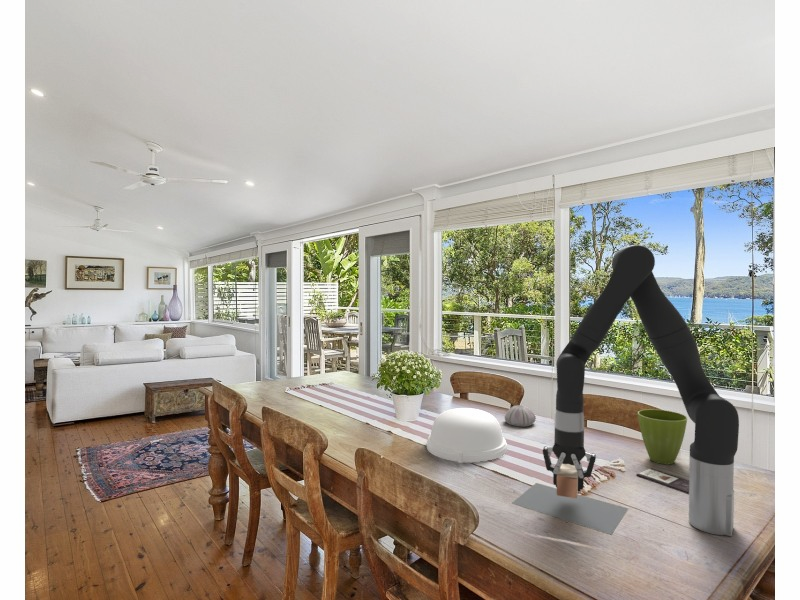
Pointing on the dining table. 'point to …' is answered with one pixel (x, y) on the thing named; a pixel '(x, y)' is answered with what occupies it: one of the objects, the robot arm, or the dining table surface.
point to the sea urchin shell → (520, 416)
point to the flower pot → (662, 434)
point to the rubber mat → (573, 508)
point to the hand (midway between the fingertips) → (568, 488)
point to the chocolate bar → (666, 479)
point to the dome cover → (466, 436)
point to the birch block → (567, 481)
